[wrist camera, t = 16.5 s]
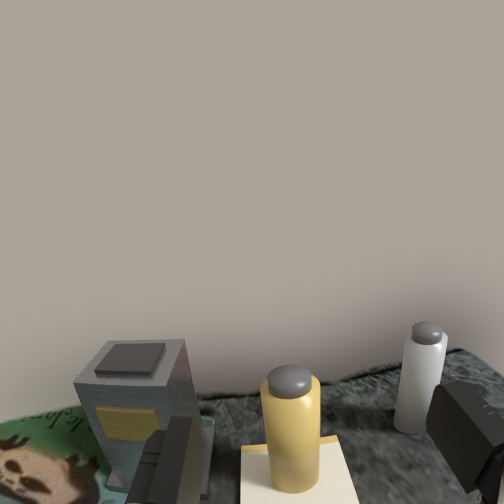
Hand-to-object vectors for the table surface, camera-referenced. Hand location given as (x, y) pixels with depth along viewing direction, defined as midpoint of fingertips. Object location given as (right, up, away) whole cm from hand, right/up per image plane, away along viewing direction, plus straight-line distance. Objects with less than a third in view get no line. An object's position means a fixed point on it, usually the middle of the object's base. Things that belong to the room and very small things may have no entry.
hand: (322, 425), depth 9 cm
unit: (-11, -16, +18) cm, 27 cm away
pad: (+2, -16, +15) cm, 22 cm away
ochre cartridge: (+2, -15, +15) cm, 22 cm away
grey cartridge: (+16, -14, +20) cm, 29 cm away
